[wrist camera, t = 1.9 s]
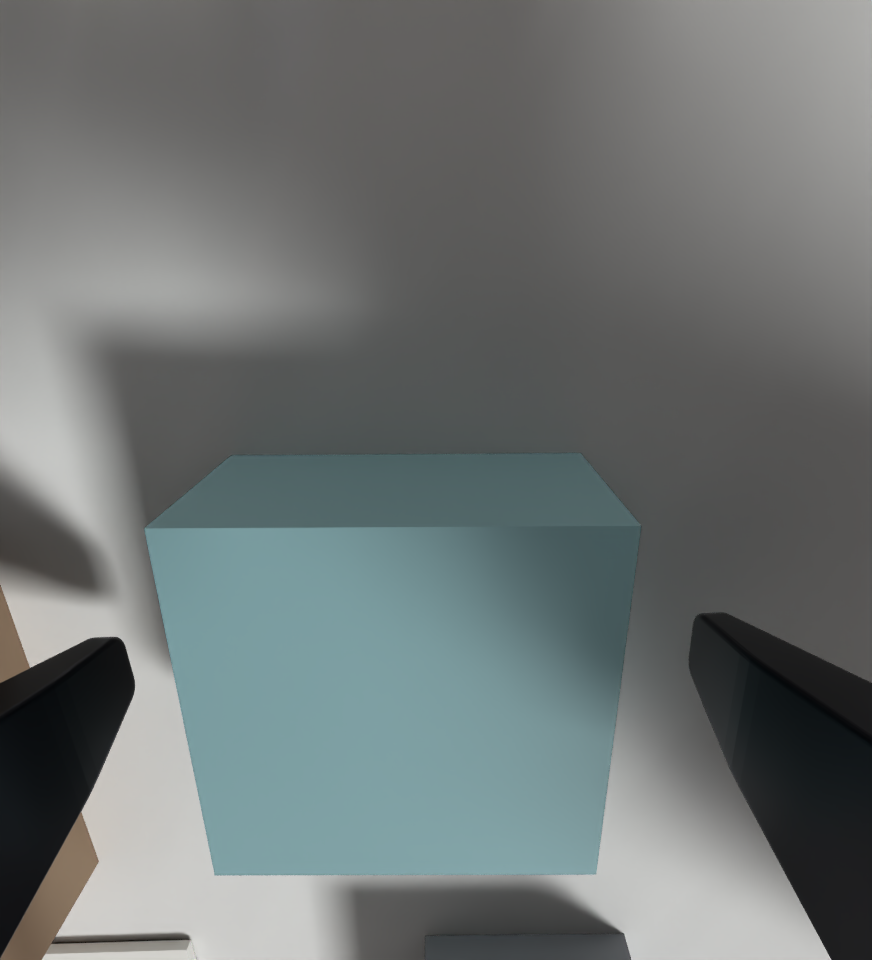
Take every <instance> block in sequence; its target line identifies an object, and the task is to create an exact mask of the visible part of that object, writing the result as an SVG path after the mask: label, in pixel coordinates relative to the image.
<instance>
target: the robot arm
mask: <svg viewBox="0 0 872 960" xmlns="http://www.w3.org/2000/svg"><path fill="white" fill-rule="evenodd" d="M689 669H690V673H691V676H692V679H693V681H694V684H695V686H696V689H697V691H698V693H699V696H700V698H701V701H702V703H703V706H704V708H705V711H706V713H707V715H708V718H709V720H710V723H711V725H712V728H713V730H714V733H715V735H716V737H717V740H718V742H719V745H720V747H721V750H722V752H723V755H724V757H725V759H726V761H727V764H728V766H729V768H730V770H731V772H732V774H733V776H734V778H735V780H736V782H737V784H738V786H739V788H740V790H741V792H742V794H743V796H744V797H745V799H746V801H747V803H748V805H749V807H750V809H751V810H752V812H753V814H754V816H755V818H756V820H757V822H758V824H759V825H760V827H761V829H762V831H763V833H764V835H765V837H766V838H767V840H768V842H769V844H770V846H771V848H772V850H773V852H774V853H775V855H776V857H777V859H778V861H779V863H780V865H781V866H782V868H783V870H784V872H785V874H786V876H787V878H788V880H789V881H790V883H791V885H792V887H793V889H794V891H795V893H796V894H797V896H798V898H799V900H800V902H801V904H802V906H803V908H804V909H805V911H806V913H807V915H808V917H809V919H810V921H811V922H812V924H813V926H814V928H815V930H816V932H817V934H818V936H819V937H820V939H821V941H822V943H823V945H824V947H825V949H826V950H827V952H828V954H829V956H830V958H831V960H872V683H871V682H869V681H867V680H865V679H862V678H860V677H858V676H856V675H854V674H852V673H850V672H848V671H846V670H844V669H842V668H840V667H837V666H835V665H833V664H831V663H829V662H827V661H825V660H823V659H821V658H819V657H817V656H815V655H812V654H810V653H808V652H806V651H804V650H802V649H800V648H798V647H796V646H794V645H792V644H790V643H788V642H785V641H783V640H781V639H779V638H777V637H775V636H773V635H771V634H769V633H767V632H765V631H763V630H760V629H758V628H756V627H754V626H752V625H750V624H748V623H746V622H744V621H742V620H740V619H738V618H735V617H733V616H731V615H729V614H727V613H722V612H721V613H701V614H699V615H697V616H696V617H695V619H694V622H693V628H692V636H691V644H690V652H689ZM134 691H135V680H134V676H133V672H132V669H131V665H130V661H129V658H128V654H127V651H126V647H125V644H124V642H123V641H122V640H121V639H120V638H118V637H96V638H90V639H88V640H86V641H84V642H82V643H80V644H78V645H76V646H74V647H72V648H70V649H68V650H66V651H64V652H62V653H59V654H57V655H55V656H53V657H51V658H49V659H47V660H45V661H43V662H41V663H39V664H37V665H35V666H33V667H31V668H29V669H27V670H25V671H23V672H21V673H19V674H17V675H15V676H13V677H11V678H9V679H7V680H5V681H3V682H1V683H0V959H1V957H2V955H3V953H4V951H5V950H6V948H7V946H8V944H9V942H10V940H11V939H12V937H13V935H14V933H15V931H16V930H17V928H18V926H19V924H20V922H21V920H22V919H23V917H24V915H25V913H26V911H27V909H28V908H29V906H30V904H31V902H32V900H33V899H34V897H35V895H36V893H37V891H38V889H39V888H40V886H41V884H42V882H43V880H44V879H45V877H46V875H47V873H48V871H49V869H50V868H51V866H52V864H53V862H54V860H55V858H56V857H57V855H58V853H59V851H60V849H61V848H62V846H63V844H64V842H65V840H66V838H67V837H68V835H69V833H70V831H71V829H72V827H73V826H74V824H75V822H76V820H77V818H78V817H79V815H80V813H81V811H82V809H83V807H84V805H85V803H86V801H87V800H88V798H89V796H90V794H91V792H92V789H93V787H94V785H95V783H96V781H97V779H98V777H99V774H100V772H101V770H102V767H103V765H104V763H105V761H106V758H107V756H108V754H109V751H110V749H111V747H112V744H113V742H114V740H115V737H116V735H117V733H118V731H119V728H120V726H121V724H122V721H123V719H124V717H125V714H126V712H127V710H128V707H129V705H130V703H131V700H132V698H133V695H134Z"/></svg>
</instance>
